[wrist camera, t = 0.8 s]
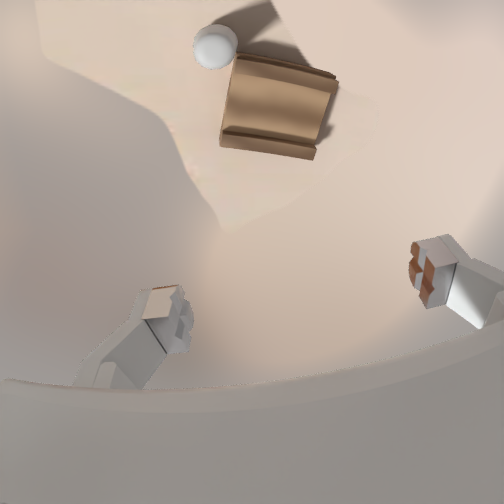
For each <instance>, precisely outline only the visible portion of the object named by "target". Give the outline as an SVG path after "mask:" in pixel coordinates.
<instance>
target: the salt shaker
mask: <svg viewBox="0 0 504 504" xmlns="http://www.w3.org/2000/svg"><path fill="white" fill-rule="evenodd" d="M237 46H238V40H237V37H236V34H235V33H234V32H233V31H232V30H231V29H230V28H229V27H227V26H224V25H221V24H215V25H208V26H206V27H205V28H203V29H201V30H200V31H199V32H198V33H197V35H196V36H195V37H194V43H193V48H194V51H193V54H194V57H195V60H196V61H197V62H198V63H199V64H200V65H201V66H202V67H205V68H208V69H211V70H212V69H221V68H223V67H225V66H227V65H229V64H230V62H231V61H232V60H233V58H234V56H235V52H236V50H237Z"/></svg>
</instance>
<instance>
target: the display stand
mask: <svg viewBox="0 0 504 504" xmlns="http://www.w3.org/2000/svg"><path fill="white" fill-rule="evenodd" d="M335 79H336V76H334V75H333V74H331V73H329V72H326V71H323V70H319V69H315V68H312V67H308V66H304V65H300V64H296V63H291V62H287V61H283V60H278V59H273V58H268V57H263V56H258V55H252V54H246V53H240V52H236V54H235V58H234V63H233V68H232V73H231V78H230V83H229V88H228V93H227V99H226V104H225V109H224V115H223V120H222V126H221V132H220V137H219V141H220V147H226V148H234V149H242V150H250V151H257V152H264V153H271V154H277V155H283V156H289V157H295V158H301V159H307V160H312V161H313V159H314V156H315V153H316V150H317V149H316V147H315V146H314V144H315V141H316V138H317V135H318V132H319V129H320V126H321V123H322V120H323V117H324V113H325V110H326V107H327V104H328V101H329V98H330V95H331V94H335V93H336V90H337V87H338V84H339V82H338V81H337V80H335Z"/></svg>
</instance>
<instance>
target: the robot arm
mask: <svg viewBox="0 0 504 504" xmlns="http://www.w3.org/2000/svg"><path fill="white" fill-rule="evenodd" d="M411 254H412V255H413V258H412V260H411V261H410V262H409V277H410V280H411V283H412V285H413V286H414V288H416V289H417V290H419V291H420V294H419V297H420V299H421V301H422V302H423V304H424V306H425V308H426V309H429V308H433V307H436V306H441V305H444V304H446V305H447V306H448V307H449V308H451V309H452V310H454V311H455V312H456V313H458V314H459V315H460V316H462V317H463V318H465V319H466V320H467V321H469V322H470V323H471V324H473V325H474V326H475V327H477V328H478V330H476V331H473V332H470V333H468V334H465V335H462V336H459V337H456V338H454V339H451V340H448V341H445V342H442V343H439V344H436V345H432V346H429V347H426V348H423V349H419V350H416V351H413V352H409V353H406V354H403V355H399V356H395V357H391V358H388V359H383V360H379V361H375V362H371V363H367V364H363V365H358V366H354V367H349V368H345V369H340V370H335V371H330V372H325V373H320V374H314V375H308V376H302V377H296V378H290V379H283V380H275V381H268V382H259V383H251V384H241V385H231V386H219V387H205V388H186V389H150V390H149V389H142V388H143V387H144V386H145V384H146V383H147V381H148V380H149V379H150V378H151V376H152V375H153V374H154V372H155V371H156V370H157V368H158V367H159V366H160V364H161V363H162V362H163V360H164V359H165V358H166V356H167V354H174V353H182V352H189V347H190V342H191V336H190V334H189V331H190V330H191V329H192V328H193V323H194V317H193V311H192V308H191V305H190V303H189V302H188V301H187V300H185V299H184V295H185V292H184V290H183V288H182V286H180V285H172V286H164V287H157V288H151V289H144V290H141V291H140V292H139V294H138V296H137V299H136V301H135V304H134V306H133V309H132V311H131V314H130V317H129V319H128V321H127V322H123V323H122V324H121V325H120V326H119V327H118V328H117V329H116V330H115V331H114V332H113V333H111V334H110V335H109V336H108V337H107V338H106V339H105V340H104V341H103V342H102V343H101V344H100V345H98V346H97V347H96V348H95V349H94V350H93V351H92V352H91V353H90V354H89V355H88V356H87V357H86V358H85V359H83V360H82V362H81V365H80V367H79V370H78V372H77V375H76V377H75V380H74V383H73V386H63V385H53V384H44V383H36V382H29V381H23V380H17V379H11V378H7V379H3V380H2V381H1V382H0V504H504V272H503V271H501V270H499V269H497V268H495V267H492V266H490V265H488V264H486V263H484V262H482V261H479V260H477V259H471V258H470V257H469V256H468V254H467V253H466V252H465V251H464V250H463V249H462V248H461V246H460V245H459V244H458V243H457V242H456V241H455V240H454V239H453V237H452V236H451V235H449V234H446V235H442V236H437V237H435V238H430V239H426V240H421V241H416V242H413V243H412V245H411Z"/></svg>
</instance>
